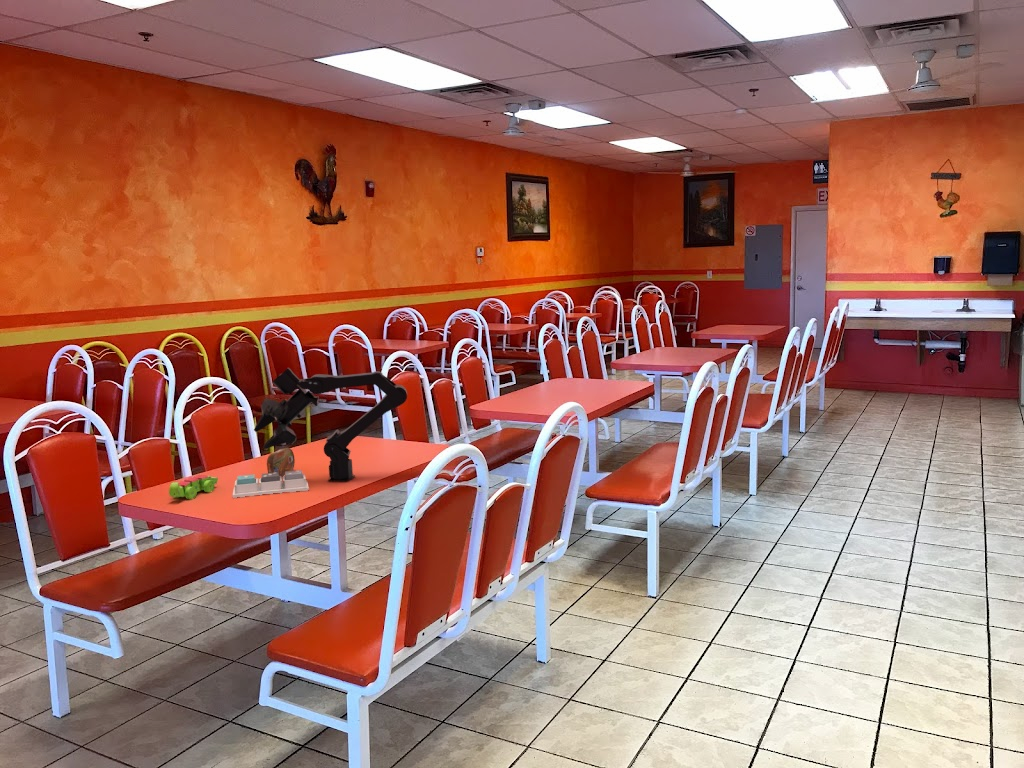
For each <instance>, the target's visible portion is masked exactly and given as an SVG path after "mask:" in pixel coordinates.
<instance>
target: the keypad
mask: <svg viewBox="0 0 1024 768" xmlns="http://www.w3.org/2000/svg"><path fill="white" fill-rule="evenodd" d="M302 475H303V479H293V480H286V477H285V476H283V477H281V476H279V481H273V482H262V477H260V478H258V477H257V478H256V477H255V483H252V484H242V485H238V484H237V479H236V480H235V481H234V487H233V488H232V489H233V491H232V498H233V499H237V497H240V498H246V497H245V496H250V497H255V496H254V495H260V496H263V495H262V494H270V495H274V494H273V493H280V494H283V493H282V492H290V493H297V492H296V491H300V492H309V491H310V487H309V484H308V483H309V482H308V480H306V474H305V473H302ZM308 490H309V491H308Z"/></svg>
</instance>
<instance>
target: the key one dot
mask: <svg viewBox="0 0 1024 768" xmlns="http://www.w3.org/2000/svg"><path fill="white" fill-rule="evenodd" d="M255 475H256V474H255V473H254V474H246V475H245V474H244V475H237V478H236V480H237V484H238V485H242V484H252V483H255V479H256V476H255Z"/></svg>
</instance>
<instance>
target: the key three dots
mask: <svg viewBox="0 0 1024 768" xmlns="http://www.w3.org/2000/svg"><path fill="white" fill-rule="evenodd" d="M261 478H262V482H273V481H279V473H278V472H274V473H268V472H264V473H261Z"/></svg>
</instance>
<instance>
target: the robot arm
mask: <svg viewBox="0 0 1024 768" xmlns="http://www.w3.org/2000/svg"><path fill="white" fill-rule="evenodd" d="M271 383H272V384H273V385H274V386H275V387H276V388H277V389H278V390H279V391H280V392H281V393H283V395H288V396H290V397H289V398H288V399H286V398H284V399H282V400H281V401H278V400H275V399H271V398H267V397H266V398H265V399H264V400H263V401H262V402H261V405H260V409H261V415H260V417H259V419H258V422H257V423H256V425H255V427H254V429H253V431H254V432H255V433H257V432H259V431H260V430H262V429H265V428H266V427H267V426H270V425H271V424H272V423H274V422H276V424H277V426H276V429H273V434H272V435H271V437H270V438H269V439H268V440H267V441H266V442H265V443H264V445H263V446H262V448H263V449H264V450H266V449H269V448H273V447H276V446H278V445H282V444H290V445H293V444H294V443H295V442H296V441H297V435H296V433H295V431H294V430H293V429H291V428H290V427H292V426H293V424H292V422H293V421H294V420H295V419H296V418H299V419H300V418H301V417H302V412H303V411H304V410H306V408H308V407H309V406H310V405H311V404H313V405H314V406H315V407H317V406H318V405H319V399H320V396H315V395H321V394H325V393H329V392H331V391H334V390H338V389H344V388H345V389H346V388H353V387H362V386H373V385H374V386H376V387H377V388H378V389H379V390H381V392H383V394H385V395H383V397H382V399H380V401H378V403H376V405H373V407H372V408H371V409H369V410H368V411H367V412H365V413H364V414H363V415H361V417H359V418H358V419H357V420H356V421H355V422H353V423H351V425H350V426H349V427H347V428H346V429H344V430H341V431H340V430H339V429H336V430H335V431H334V432H333V433H332V434H331V435H328V436H327V437H326V441H325V442H324V443H325V444H324V446H323V453H324V454H325V456H326V457H327V458H329V460H330V461H329V465H328V475H329V479H328V481H329V482H349V481H351V480H352V479H354V478H356V475H354V474H353V473H354V472H353V460H352V458H351V459H350V455H351V449H349V448H348V446H349V445H350V444H351V443H352V441H353V440H354V439H356V438H357V437H358V436H359V435H360V434H361V433H363V432H364V431H365V430H367V429H368V428H369V427H370V426H371V425H373V424H374V423H375V422H376V421H377V420H379V419H380V418H381V417H382V416H384V415H385V414H386V413H389V412H390V411H392V410H394V409H396V408H398V407H400V406H401V405H403V404H404V403H405V402H406V401H407V400H408V391H407V389H406V387H405V386H404V385H402V384H396V383H395V382H394V381H393V380H391V379H389V378H388V377H387V376H385V375H384V374H383V373H382V372H381V371H379V370H378V371H377V370H376V371H372V372H365V373H354V374H345V375H342V374H341V375H333V374H323V373H321V374H320V373H318V374H317V373H316V374H314V375H312V376H311V377H308V378H301V379H300V378H299V377H298V376H297V375H296V374H295V372H293V371H292V369H291V368H290V367H287V368H286V369H285V370H284V371H283V372H281V373H280V374H279V375H278V376H276V378H274V379H273V380H272V381H271ZM297 389H298V390H297ZM293 392H295V393H293ZM292 393H293V394H292Z"/></svg>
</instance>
